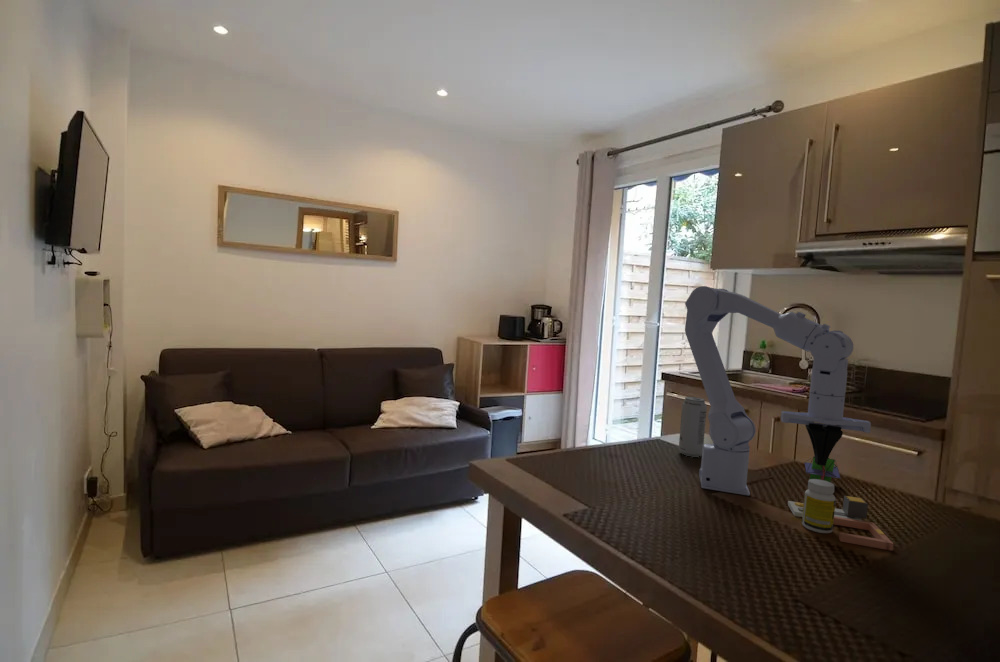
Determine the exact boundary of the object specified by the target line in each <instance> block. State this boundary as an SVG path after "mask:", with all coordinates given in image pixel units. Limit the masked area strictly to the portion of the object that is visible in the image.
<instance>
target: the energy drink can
mask: <svg viewBox="0 0 1000 662" xmlns="http://www.w3.org/2000/svg"><path fill="white" fill-rule="evenodd" d="M705 401H706V400H705V398H702V397H694V396H686V397H685V398H684V400H683V402H682V403H681V404H682V406H681V415H680V416H681V417H680V428H679V429H680V430H679V439H678V441H679V442H678V451H679V452H680V453H682V454H684V455H687V456H693V457H698V456H700V457H701V456H702V449H703V444H705V443H704V442H705V432H706V431H705V430H706V423H707V422H706V421H707V420H706V419H707V411H708V410H707V409H708V408H707V407H708V406H707V404H706V402H705ZM687 456H686V457H687ZM693 457H692V458H693ZM698 458H699V457H698Z"/></svg>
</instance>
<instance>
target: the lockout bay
mask: <svg viewBox="0 0 1000 662" xmlns="http://www.w3.org/2000/svg"><path fill="white" fill-rule="evenodd" d="M833 525H835V526H842V527H847V528H852V529H853V528H854V529H859V530H864V531H869V533H871V535H872V536H873V537H869V536H863V535H858V534H851V533H847V532H841V531H840V532H839V534H838V540H839V542H840V543H841V542H842V543H847V544H853V545H859V546H864V547H869V548H876V549H880V550H887V551H892V552H893V551H894V543H893V541H892V540H890V538H889V537H888V536H887V535H886V534H885V533H884V532H883V530H881V529H880V527H879V526H877V525H876V523H875V522H871V521H866V520H863V521H860V520H854V519H848V518H842V517H836V516H834V522H833Z"/></svg>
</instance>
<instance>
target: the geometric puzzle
mask: <svg viewBox="0 0 1000 662" xmlns="http://www.w3.org/2000/svg"><path fill="white" fill-rule="evenodd" d="M809 460H811V461H810V462H808V461H807V460H806V461H804V468H805V474H806V476H807V478H809V480H810V479H819V480H824V481H828V482H830V483H832V484H834V481H833V479H834V478H836V479H837V481H839V480H841V479H842V478H841V475H840V472H839V471H840V470H839V467H838V465H837V464H836V463H837V461H836V459H835V458H831V457H830V456H829V457H828V460H827V463H826V466H823V465H817V464H816V463H815V457H814V455H813V457H810V459H809ZM809 474H810V475H809Z"/></svg>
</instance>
